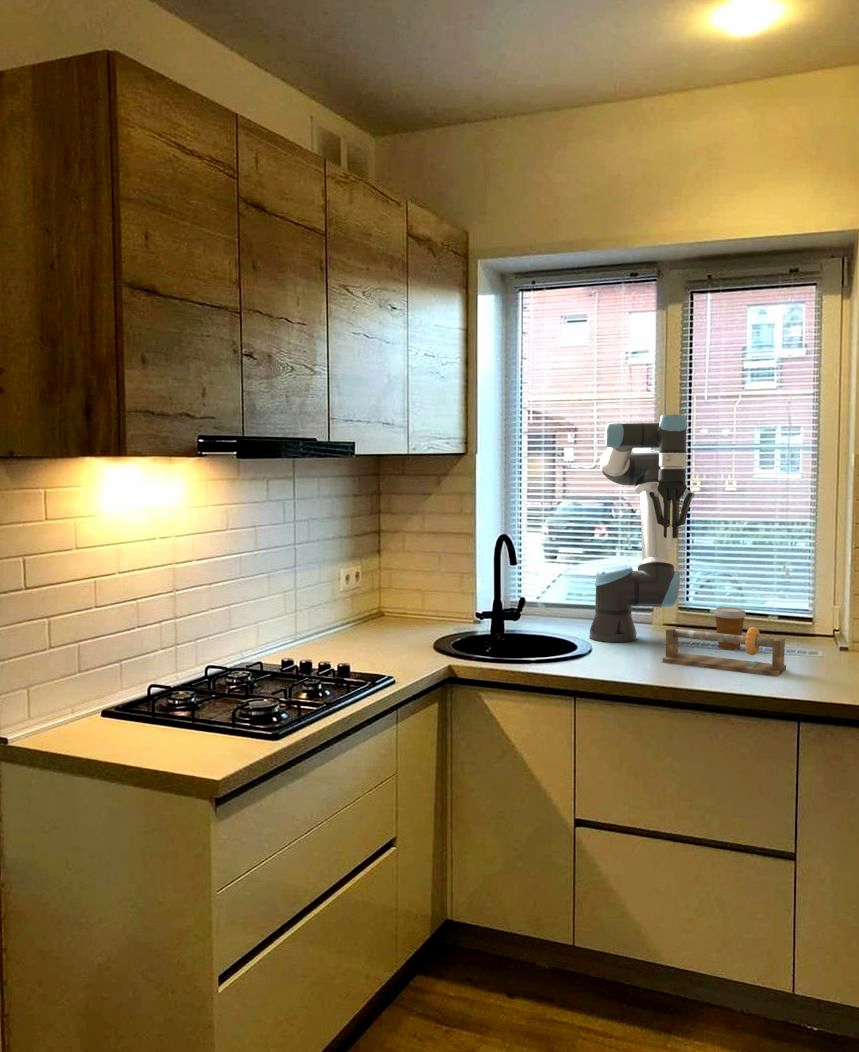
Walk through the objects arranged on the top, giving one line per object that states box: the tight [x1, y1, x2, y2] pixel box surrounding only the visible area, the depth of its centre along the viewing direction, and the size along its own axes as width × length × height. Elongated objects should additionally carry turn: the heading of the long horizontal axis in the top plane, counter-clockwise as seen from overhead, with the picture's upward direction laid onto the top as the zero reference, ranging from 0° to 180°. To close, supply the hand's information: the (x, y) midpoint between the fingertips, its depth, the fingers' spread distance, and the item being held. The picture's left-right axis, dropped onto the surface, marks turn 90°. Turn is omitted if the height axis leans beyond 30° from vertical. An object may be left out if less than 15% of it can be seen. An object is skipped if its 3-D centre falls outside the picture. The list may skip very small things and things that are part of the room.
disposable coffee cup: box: [713, 606, 747, 650], centre depth 292 cm, size 10×10×12 cm
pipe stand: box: [661, 626, 787, 677], centre depth 266 cm, size 32×10×9 cm, turn 56°
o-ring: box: [744, 626, 761, 656], centre depth 262 cm, size 3×8×8 cm, turn 146°
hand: (670, 549), depth 273 cm, fingers closed
